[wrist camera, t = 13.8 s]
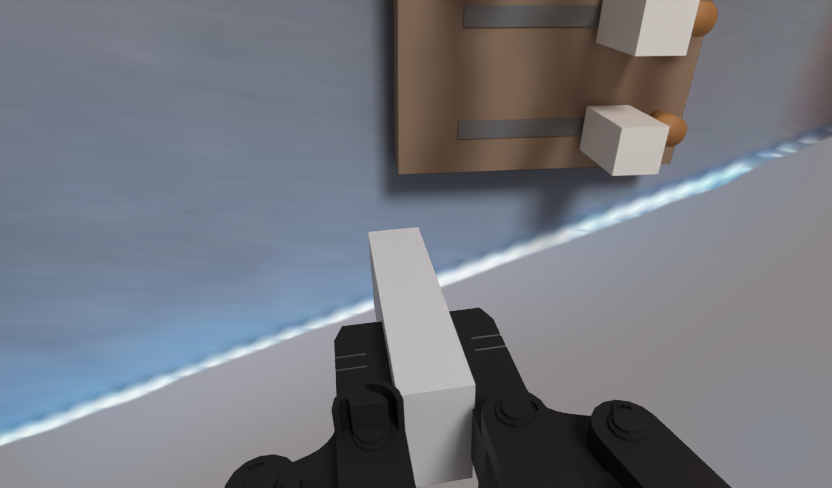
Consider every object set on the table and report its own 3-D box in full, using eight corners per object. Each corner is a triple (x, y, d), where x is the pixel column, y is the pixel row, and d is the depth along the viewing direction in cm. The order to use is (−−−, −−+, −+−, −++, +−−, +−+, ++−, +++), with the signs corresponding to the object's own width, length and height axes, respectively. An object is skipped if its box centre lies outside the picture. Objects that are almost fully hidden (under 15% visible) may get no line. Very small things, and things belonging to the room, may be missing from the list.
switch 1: (595, 42, 33) (635, 56, 29) (604, -11, 31) (647, -5, 27) (640, 42, 33) (685, 55, 29) (651, -11, 32) (700, -5, 27)
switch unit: (394, 159, 38) (401, 185, 34) (391, -187, 29) (400, -211, 24) (648, 150, 41) (685, 173, 37) (725, -172, 31) (787, -192, 27)
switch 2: (579, 149, 36) (612, 176, 32) (586, 106, 35) (622, 127, 31) (620, 147, 37) (658, 174, 32) (629, 105, 35) (670, 126, 31)
